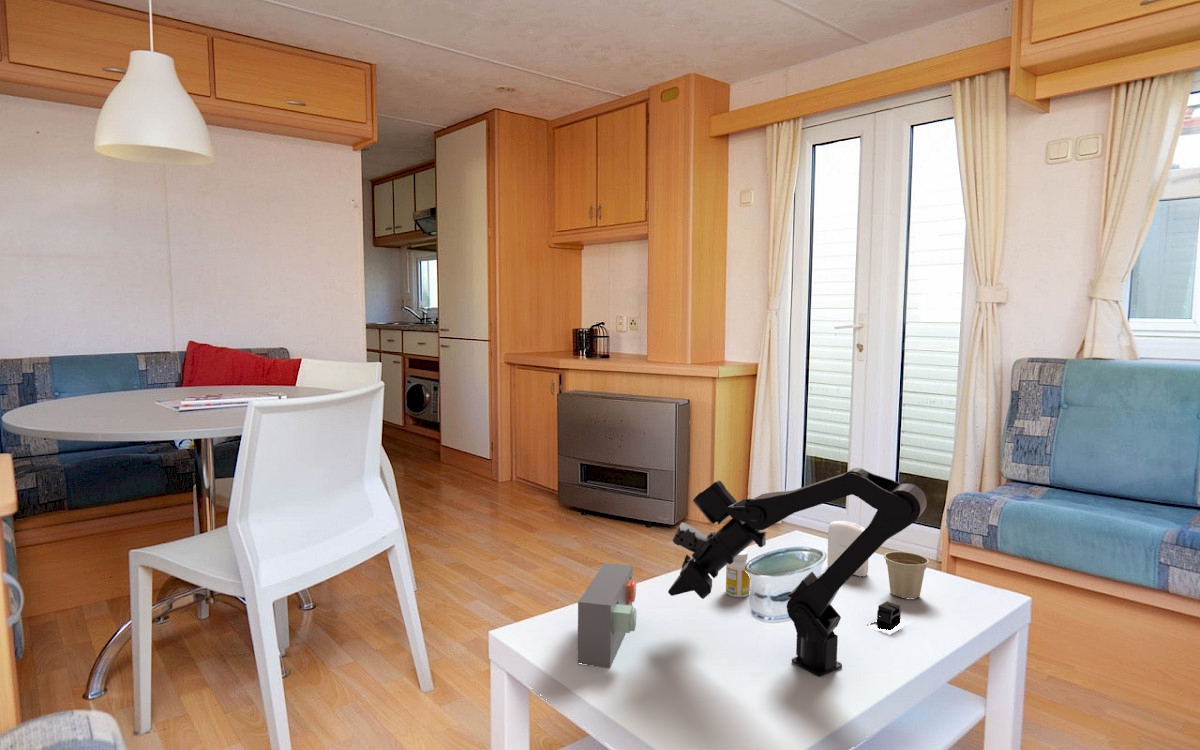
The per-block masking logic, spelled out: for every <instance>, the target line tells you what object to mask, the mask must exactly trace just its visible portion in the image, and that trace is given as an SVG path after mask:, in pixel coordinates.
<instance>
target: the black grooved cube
mask: <svg viewBox="0 0 1200 750" xmlns="http://www.w3.org/2000/svg"><path fill="white" fill-rule="evenodd" d="M901 612H902V610H901V605H900V604H897V603H894V602H890V601H885V602H883V603H881V604H879V605H878V607H877V612H876V614H877V615H876V620H877V622H874V623H871V622H870V623H871V624H870V625H868V624H866V625H867V626H869V627H870V626H872V627H876V628H879V629H880V628H881V629H886V630H887V629H888V630H891V629H893V628H894V627H895V626H897V625H898V624H899V623H900V619H901V614H902V613H901Z"/></svg>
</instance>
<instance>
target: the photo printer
mask: <svg viewBox="0 0 1200 750" xmlns="http://www.w3.org/2000/svg"><path fill="white" fill-rule="evenodd" d="M828 525H829V526H828V530H827V566H828V568H829V567H830V566H831V565H832V564H833V563H834V562H835V561H836V560H837V559H838V558H839V557H840V555H841V554H842V553H843V552H844V551H845V550H846V549H847V548H848V547H849V546H850V545H851V544H852V543H853V542H854V541H855V540H856V539H857V537H858V536H859V535H860V534H861V533H862V532H863V531H864V530H865V529H866V528H865V527H863V526H861V525H859V524H857V523H854V522H851V521H848V520H834V521H831V522H830V524H828ZM868 573H869V558H868V559H867V561H866V562H865V563H864V564H863V565H862V566H861V567H860V568H859V569H858V570H857V571H856V572H855V573H854V574H853V575H852V576H857V577H861V576H863V577H866V576H868Z"/></svg>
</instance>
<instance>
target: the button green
mask: <svg viewBox="0 0 1200 750" xmlns="http://www.w3.org/2000/svg"><path fill="white" fill-rule="evenodd" d="M637 616H638V615H637V608H636V607H634V605H632V606H630V605H620V604H616V605H615V607H614V609H613V631H615V632H623V633H626V634H630V633H631V632H635V630H636V628H637V627H636V626H637Z"/></svg>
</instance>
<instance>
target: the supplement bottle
mask: <svg viewBox="0 0 1200 750" xmlns="http://www.w3.org/2000/svg"><path fill="white" fill-rule="evenodd" d="M748 558H749V557H748V551H746V550H745V549H744V550H743V551H742V552H740V553H739V554H738V555H737V556H736V557H735V558H734V562H732V563H731V564H730V565H729V564H727V565H725V566H726V571H725V572H726V574H725V593H726V594H727V595H728V596H730V597H733V598H746V597H749V596H750V594H749V591H751V577H750V578H749V576H748V574H747V573H746V572H745V565H746V564H747V563H748V562H749V561H748Z"/></svg>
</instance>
